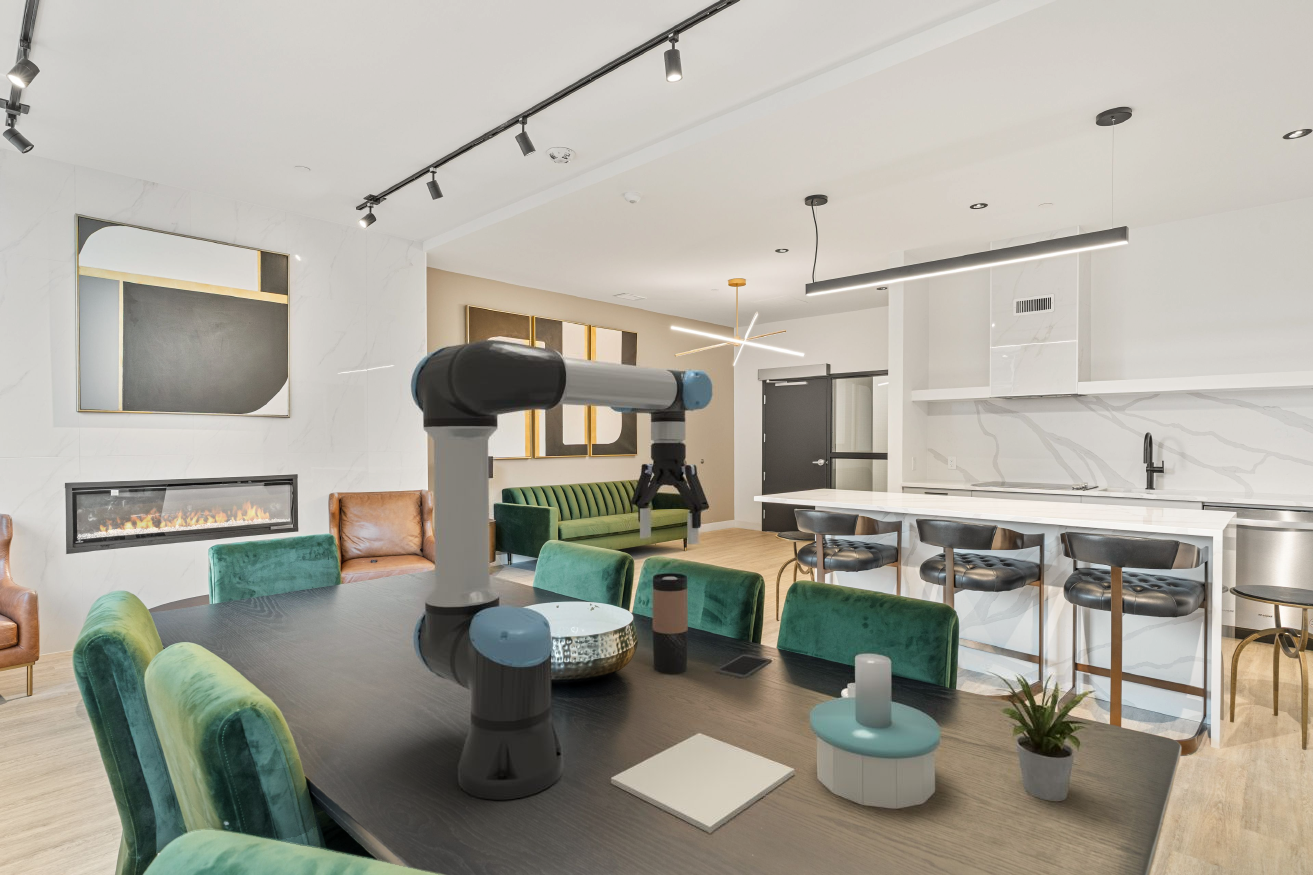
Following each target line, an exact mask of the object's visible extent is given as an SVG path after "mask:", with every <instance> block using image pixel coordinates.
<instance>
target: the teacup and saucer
mask: <svg viewBox="0 0 1313 875" xmlns="http://www.w3.org/2000/svg"><path fill="white" fill-rule="evenodd" d="M840 694H841V698H852V697H855V682H851V683H847V688H843V689H842V690H841V693H840ZM839 698H840V697H838V698H837V699H839Z"/></svg>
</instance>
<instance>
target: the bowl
mask: <svg viewBox="0 0 1313 875" xmlns="http://www.w3.org/2000/svg"><path fill="white" fill-rule="evenodd" d="M816 773H817V774H816V775H817V778H816V779H817V780H818V781H819V782H820V783H821V784H823V786H824V787H826V788H827V789H828V790H829V791H830V792H831V793H832V794H834V795H836V796H839V797H840V798H841V797H842V798H844V799H846V800H849V801H852V802H854V803H856V804H859V805H862V806H867V807H877V808H887V809H894V810H895V809H904V808H908V807H913V806H918V805H923V804H925V802H927V801H928V799H930V798H931V796H933V794H934V793H935V792H936V749H935V750H934V751H932V752H930V753H928V754H925V755H922V756H918V757H912V758H900V759H890V758H877V757H870V756H864V755H859V754H855V753H851V752H848V751H845V750H842V749H839V748H837V747H834V746H832V745H830V744H828V743H826V742H825V741H823V740H822V739H820V738H819V737H818V736H817V735H816Z"/></svg>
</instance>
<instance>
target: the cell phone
mask: <svg viewBox="0 0 1313 875" xmlns="http://www.w3.org/2000/svg"><path fill="white" fill-rule="evenodd" d="M772 662H773V660H772V659H770V658H767V657H762V656H756V655H750V654H745V653H744V654H741V655H740V656H737V657H736V658H734V659H732V660H731V661H729V662H726V663H725V664H724V665H721V666H720V667H718V668H717V669H715V673H716V672H717V673H716V674H718V673H720V674H719V675H723V674H725V675H724V676H727V675H730V676H729V677H732V676H734V677H733V678H736V677H737V678H736V679H741V678H746V679H747V677H748V676H749V677H751V676H752V675H754V674H756V673H757V672H759V671H760V670H761V669H763V668H765V667H767V666H768V665H769V664H771V663H772ZM758 670H759V671H758ZM756 671H757V672H756ZM755 672H756V673H755ZM753 673H754V674H753ZM750 675H751V676H750ZM749 677H748V678H749Z"/></svg>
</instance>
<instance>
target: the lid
mask: <svg viewBox="0 0 1313 875" xmlns="http://www.w3.org/2000/svg"><path fill="white" fill-rule="evenodd" d="M854 678H855V680H854V681H855V682H854V683H855V697H852V698H842V697H838V698H839V699H838V698H835V699H834V698H833V699H828V700H825V701H823V702H821V703H820V702H819V703H818V704H817V705H816V706H815V705H814V707H813V708H812V709H811V711H810V713H809V725H810V729H811V731H812V732H813V734H814V735H815V736H816V737H817V736H818V737H819V738H820V739H822V740H823V741H825V742H826V743H828V744H830V745H832V746H834V747H837V748H839V749H842V750H845V751H848V752H851V753H855V754H859V755H864V756H870V757H877V758H890V759H900V758H912V757H918V756H922V755H925V754H928V753H930V752H932V751H934V750H935V751H936V749H938V747H939V746H940V745H941V744H940V743H941V727H940V725H939V724H938V722H936V720H935V719H933V718H932V717H931V716H930V715H928V714H927V713H925V712H923V711H921V710H919V709H917V708H916V707H915V708H914V707H912V706H909V705H906V704H903V703H899V702H895V701H892V660H891V658H889V657H888V656H885V655H882V654H877V653H860V654H857V655H855V657H854Z"/></svg>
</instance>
